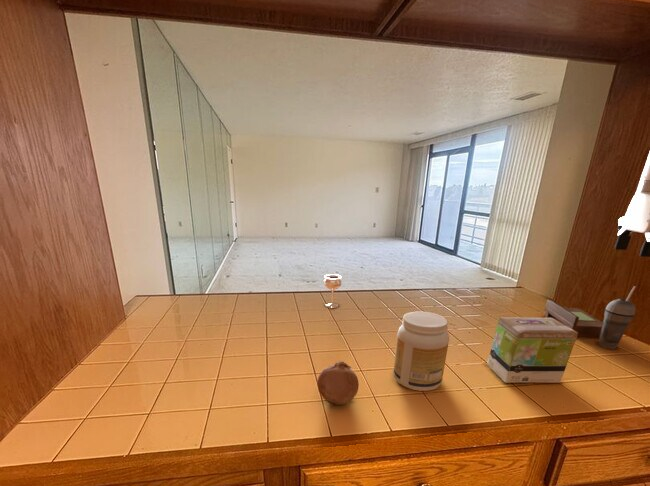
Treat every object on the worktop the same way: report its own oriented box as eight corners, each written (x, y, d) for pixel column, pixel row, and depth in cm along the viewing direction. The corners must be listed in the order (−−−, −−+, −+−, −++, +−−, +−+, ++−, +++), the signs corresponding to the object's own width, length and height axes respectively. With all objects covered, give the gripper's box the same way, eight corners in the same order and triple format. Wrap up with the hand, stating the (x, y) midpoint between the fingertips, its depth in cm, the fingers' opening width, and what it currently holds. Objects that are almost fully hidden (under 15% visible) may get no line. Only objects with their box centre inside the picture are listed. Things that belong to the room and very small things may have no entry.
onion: (337, 400, 85) (344, 360, 85) (363, 411, 77) (370, 366, 78) (305, 399, 79) (313, 356, 80) (330, 410, 72) (338, 362, 72)
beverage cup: (597, 338, 114) (618, 280, 107) (624, 347, 109) (648, 286, 101) (589, 344, 110) (610, 284, 102) (617, 353, 105) (642, 290, 97)
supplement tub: (450, 380, 89) (461, 319, 82) (424, 399, 81) (435, 333, 74) (409, 362, 97) (417, 306, 90) (383, 378, 89) (389, 317, 83)
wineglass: (320, 306, 138) (320, 276, 133) (330, 301, 143) (330, 273, 138) (334, 309, 134) (335, 280, 129) (343, 305, 139) (345, 276, 134)
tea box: (505, 384, 87) (520, 331, 82) (486, 364, 97) (497, 316, 91) (562, 383, 89) (579, 331, 83) (537, 364, 98) (551, 315, 92)
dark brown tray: (575, 318, 131) (581, 300, 129) (607, 338, 115) (614, 318, 112) (542, 316, 132) (547, 299, 129) (569, 336, 116) (576, 317, 113)
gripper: (701, 189, 83) (672, 260, 90) (645, 187, 99) (624, 247, 105) (667, 189, 83) (641, 259, 90) (617, 187, 99) (598, 246, 106)
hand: (632, 252), depth 98 cm, fingers open, 9 cm apart
